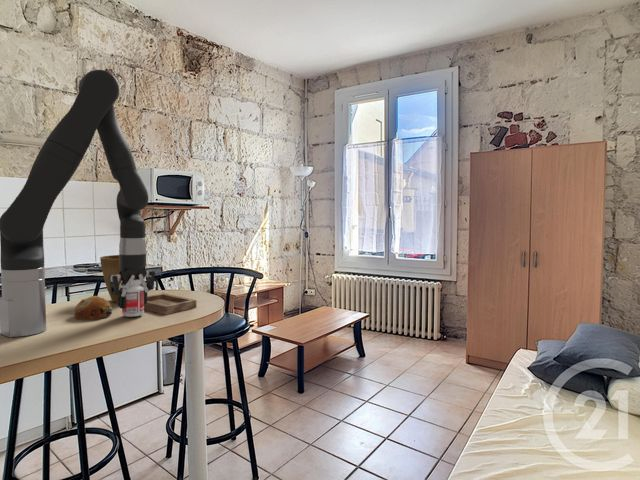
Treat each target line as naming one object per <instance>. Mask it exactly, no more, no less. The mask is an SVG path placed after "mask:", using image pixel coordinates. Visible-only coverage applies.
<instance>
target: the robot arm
mask: <svg viewBox="0 0 640 480" xmlns="http://www.w3.org/2000/svg"><path fill="white" fill-rule="evenodd" d="M119 95H120V84H119V81H118V80H117V78H116V77H115V76H114V74H113V73H111V72H110V71H108V70H105V69H94V70H90V71H88V72H86V73H85V74H84V76H83V77H82V78H80V81H79V82H78V94H77V95H76V97H75V100H74V102H73V104H72V106H71V107H70V108H69V110H68V111H67V113H66V114H65V115H64V116H63V117H62V118H61V120H59V122H58V123H57V124H56V126H55V127H54V128H53V129H52V131H51V132H50V134H48V136H47V137H46V140H45V141H44V143H43V144H42V145H41V146H42V147H40V150H39V151H38V152H37V153H38V154H37V156H36V157H35V159H34V162H33V164H32V167H31V169H30V172H29V174H28V177H27V179H26V181H25V184H24V185H23V187H22V188H21V190H20V192H19V194H18V195H17V196H16V197H15V198H14V200H13V202H11V204H10V205H9V207H7V209H6V210H5V211H4V212H3V213H2V214H1V216H0V277H1V278H0V279H1V296H0V334H1V335H3V336H4V337H7V338H16V337H18V338H19V337H26V336H31V335H36V334H37V335H38V334H40V333H42V332H44V331H46V330H47V313H46V312H47V310H46V309H47V307H46V284H45V283H46V280H45V279H46V278H45V276H46V275H45V274H46V273H45V249H44V248H45V247H44V227H45V224H46V221H47V219H48V216H49V214H50V212H51V210H52V207H53V204H55V201H56V199H57V198H58V196H59V195H60V194H61V192H62V191H63V190H64V188H65V187H66V186H67V184H68V183H69V182H70V180H71V179H72V178H73V176H74V174H75V173H76V171H78V168H79V166H80V164H81V162H82V160H83V159H84V157H85V155H86V153H87V151H88V149H89V147H90V145H91V142H92V140H93V138H94V136H95V134H96V131H97V133H98V136H99V139H100V142H101V146H102V148H103V151H104V154H105V158H106V161H107V165H108V167H109V170H110V173H111V175H112V178H113V179H114V180H116V181H117V182H118V185H119V188H120V190H119V191H118V193H117V196H116V210H117V214H118V219H119V244H118V255H119V267H120V272H119V274H117V275H110V276H109V281H110V289H111V294H113V295H117V296H118V303H117V307H119V309H121V310H122V309H124V308H126V296H125V294H126V292H127V290H128V289H129V288H130V286H131V281H133V280H137V279H140V280H141V284H140V285H141V286H143V288H144V305H145V304H146V302H147V296H148V293H149V291H152V290H154V288H155V287H154V286H155V279H156V278H155V276H156V272H155V271H154V270H147V269H146V267H147V243H146V222H145V220H144V219H143V218H142V216H141V210H143V209H146V207H147V206H148V204H149V192H148V189H147V187H146V186H145V184H144V182H143V179H142V177H141V176H140V174H139V171H138V169H137V166H136V163H135V159H134V156H133V153H132V149H131V147H130V145H129V143H128V141H127V139H126V137H125V135H124V133H123V131H122V129H121V127H120V125H119V121H118V119H117V116H116V111H115V104H114V103H115V102H116V101H117V100H118V98H119ZM119 278H120V279H121V280H122V281H121V283H120V285H118V281H119ZM145 278H146V280H145ZM125 284H126V285H125Z"/></svg>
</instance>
